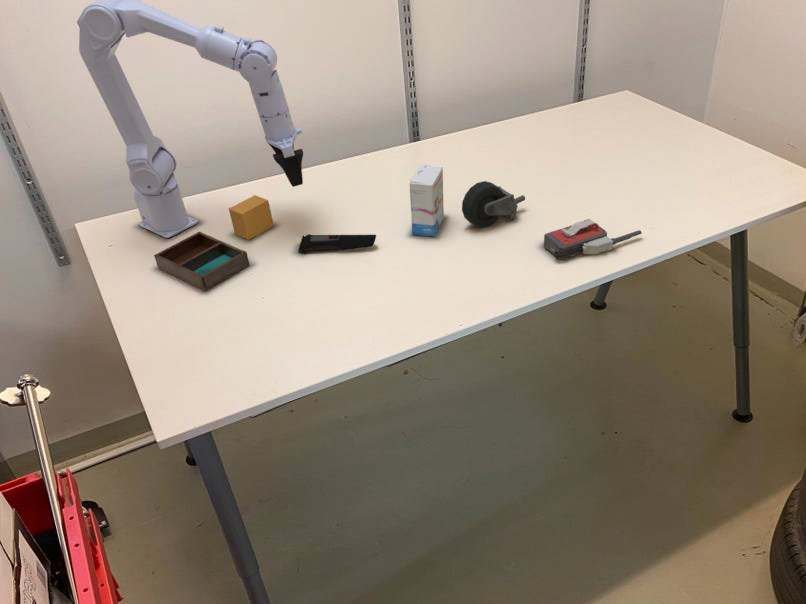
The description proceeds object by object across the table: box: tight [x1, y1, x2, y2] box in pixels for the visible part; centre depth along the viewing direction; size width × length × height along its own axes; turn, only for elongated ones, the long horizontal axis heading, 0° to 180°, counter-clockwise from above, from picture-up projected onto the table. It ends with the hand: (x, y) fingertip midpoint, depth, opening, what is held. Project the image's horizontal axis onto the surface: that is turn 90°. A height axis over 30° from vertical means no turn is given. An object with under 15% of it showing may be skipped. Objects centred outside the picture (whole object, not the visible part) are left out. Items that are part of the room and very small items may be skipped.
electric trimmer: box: [297, 233, 377, 253], centre depth 143 cm, size 4×16×3 cm, turn 91°
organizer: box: [153, 231, 250, 292], centre depth 138 cm, size 14×11×3 cm
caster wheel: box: [461, 180, 526, 228], centre depth 149 cm, size 6×10×15 cm
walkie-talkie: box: [543, 218, 642, 260], centre depth 143 cm, size 9×4×20 cm
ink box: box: [409, 164, 445, 238], centre depth 147 cm, size 9×5×12 cm, turn 168°
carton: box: [228, 194, 275, 241], centre depth 148 cm, size 4×7×6 cm, turn 145°
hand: (294, 177), depth 145 cm, fingers open, 7 cm apart
